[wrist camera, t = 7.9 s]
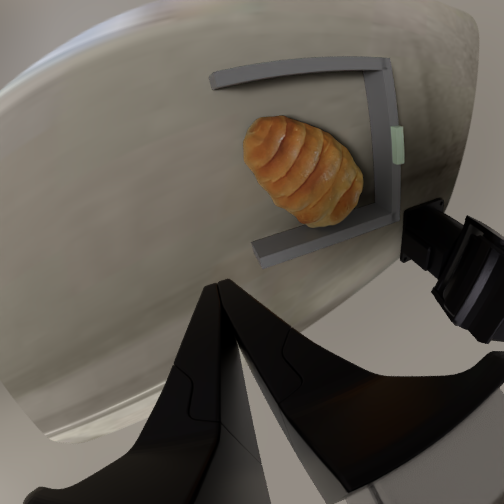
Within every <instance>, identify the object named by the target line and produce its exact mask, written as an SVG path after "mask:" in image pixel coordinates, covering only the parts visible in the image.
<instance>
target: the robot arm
mask: <svg viewBox="0 0 504 504" xmlns="http://www.w3.org/2000/svg"><path fill="white" fill-rule="evenodd" d="M443 206H444V200H443V199H441V198H438V199H435V200H433V201H430V202H427V203H424V204H421V205H419V206H416V207H413V208H410V209H407V210H406V211H405V212H404V219H403V233H402V244H401V254H400V261H401V262H403V263H405V262H407V261H409V260H413V261H414V262H415V263H416V264H418V265H419V266H420V267H421V268H422V269H423V270H425V271H427V270H428V271H429V272H430V273H431V274H432V275H434V276H435V277H436V278H437V279H438V282H437V283H436V286H435V287H433V289H432V291H431V293H432V294H433V295H434V297H435V299H436V300H437V302H438V303H439V304H440V306H441V307H442V309H443V310H444V312H445V313H446V315H447V316H448V317H449V319H450V320H451V322H453V324H454V325H456V326H459V327H461V328H463V329H466V330H468V331H469V332H470V333H471V334H472V335H473V336H474V337H475V338H476V340H477V341H479V342H481V343H485V344H489V342H490V341H491V340H493V341H501V342H504V237H503V236H502V235H500V234H499V233H498V232H496V231H495V230H493V229H491V228H490V227H488V226H487V225H485V224H484V223H482V222H480V221H478V220H476V219H474V218H472V217H470V216H468V215H467V216H466V218H465V223H464V225H462V224H461V223H459V222H458V221H456V220H455V219H453V218H451V217H450V216H448V215H446V214H445V213H443ZM236 340H237V341H236ZM237 343H238V344H237ZM238 345H239V347H240V350H241V352H242V354H243V356H244V358H245V360H246V362H247V364H248V366H249V368H250V370H251V372H252V374H253V376H254V378H255V380H256V382H257V383H258V385H259V387H260V389H261V391H262V393H263V395H264V396H265V399H266V401H267V402H268V404H269V406H270V408H271V410H272V412H273V414H274V415H275V417H276V419H277V421H278V423H279V425H280V426H281V428H282V430H283V431H284V434H285V435H286V437H287V439H288V441H289V442H290V444H291V446H292V448H293V449H294V451H295V452H296V454H297V456H298V458H299V460H300V461H301V463H302V464H303V466H304V468H305V470H306V471H307V473H308V475H309V476H310V478H311V479H312V481H313V483H314V485H315V486H316V488H317V489H318V491H319V492H320V494H321V495H322V497H323V499H324V500H325V502H326V504H334V503H337V502H339V501H342V500H344V499H346V502H347V504H504V394H503V392H502V391H501V390H500V386H501V385H502V384H503V383H504V351H492V352H490V353H488V354H487V355H486V356H485V357H483V358H482V359H481V360H480V361H479V362H478V363H477V364H476V365H475V366H473V367H472V368H471V369H469V370H466V371H464V372H462V373H458V374H455V375H446V376H405V377H404V376H383V375H378V374H375V373H372V372H369V371H367V370H365V369H363V368H361V367H359V366H357V365H355V364H353V363H351V362H349V361H347V360H345V359H343V358H341V357H339V356H337V355H335V354H334V353H332V352H330V351H328V350H326V349H324V348H323V347H321V346H319V345H317V344H316V343H314V342H312V341H311V340H309V339H308V338H307V337H305V336H304V335H302V334H301V333H299V332H298V331H297V330H295V329H294V328H291V326H290V325H289V324H287V323H286V322H285V321H283V320H282V319H281V318H279V317H278V316H277V315H275V314H274V313H273V312H272V311H270V310H269V309H268V308H266V307H265V306H264V305H262V304H261V303H260V302H259V301H257V300H256V299H255V298H253V297H252V296H251V295H250V294H248V293H247V292H246V291H245V290H243V289H242V288H241V287H239V286H238V285H237V284H236V283H234V282H233V281H232V280H231V279H225V280H222V281H219V282H218V283H213V284H210V285H207V286H205V287H204V288H203V291H202V293H201V296H200V298H199V301H198V303H197V305H196V308H195V310H194V313H193V315H192V318H191V320H190V323H189V325H188V328H187V330H186V333H185V335H184V338H183V340H182V343H181V345H180V348H179V350H178V353H177V356H176V358H175V361H174V365H173V366H172V368H171V371H170V373H169V376H168V378H167V381H166V383H165V386H164V388H163V390H162V392H161V394H160V396H159V398H158V400H157V403H156V405H155V406H154V408H153V410H152V412H151V414H150V416H149V418H148V420H147V422H146V424H145V426H144V428H143V430H142V432H141V434H140V436H139V437H138V439H137V441H136V442H135V444H134V445H133V447H132V448H131V449H130V450H129V451H128V452H127V453H126V454H125V455H123V456H122V457H121V458H119V459H118V460H116V461H114V462H113V463H111V464H109V465H108V466H106V467H105V468H103V469H101V470H100V471H98V472H96V473H95V474H93V475H91V476H90V477H88V478H86V479H84V480H82V481H81V482H79V483H77V484H75V485H73V486H71V487H68V488H64V489H51V488H46V487H38V488H36V489H35V490H34V491H32V492H31V493H29V494H28V496H27V497H26V498H25V500H24V502H23V504H271V502H270V497H269V493H268V489H267V485H266V480H265V476H264V472H263V467H262V465H261V464H262V463H261V458H260V454H259V449H258V445H257V440H256V435H255V430H254V426H253V421H252V416H251V411H250V406H249V401H248V396H247V391H246V386H245V380H244V376H243V370H242V364H241V359H240V354H239V349H238Z"/></svg>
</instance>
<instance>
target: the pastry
mask: <svg viewBox="0 0 504 504" xmlns="http://www.w3.org/2000/svg"><path fill="white" fill-rule="evenodd" d="M243 149H244V162H245V163H246V164H247V166H248V167H249V168H250V169H251V170H252V172H253V173H254V175H255V177H256V179H257V181H258V183H259V184H260V185H261V186H262V188H263V189H265V190H266V191H267V192H268V193H269V195H270V196H271V198H272V200H273V202H274V204H275V205H276V206H278V207H281V208H284V209H286V210H287V211H288V212H290V213H291V214H293V215H294V216H295V217H296V218H297V219H298V221H299V222H301V223H303V224H306V225H307V226H308V227H310V228H317V227H326V226H328V225H336V224H338V223H340V222H341V221H342V220H343V219H344V218H345V217H347V216H348V215H349V213H350V212H351V211H352V210H353V209H354V208H355V206H356V205H357V203H358V200H359V195H360V194H361V192H362V189H363V174H362V173H361V171H360V169H359V167H358V166H357V165H356V164H355V162H354V161H353V157H352V156H351V154H350V153H349V151H348V150H347V148H346V147H344V146H343V145H342V144H340V143H339V142H338V141H336V140H335V139H334V138H333V137H332V136H331V135H330V134H329V133H327V132H324V131H322V130H321V129H319V128H316V127H313V126H310V125H308V124H306V123H302V122H299V121H297V120H294V119H291V118H287V117H286V116H283V115H282V116H275V117H261V118H258V119H256V120H255V121H254V122H253V124H252V125H251V126H250V127H249V129H248V130H247V133H246V136H245V139H244V141H243Z"/></svg>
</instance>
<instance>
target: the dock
mask: <svg viewBox="0 0 504 504" xmlns="http://www.w3.org/2000/svg"><path fill="white" fill-rule="evenodd" d="M338 71H363V75H364V81H365V87H366V93H367V100H368V108H369V116H370V125H371V135H372V146H373V160H374V181H375V203H373V204H370V205H366V206H363V207H360V208H357V209H354V210H352V211H351V212H350V213H349V215H348V216H347V217H345V218H344V219H343V220H342V221H341V222H340V223H338V224H336V225H328V226H326V227H317V228H310V227H308V226H307V225H303V226H300V227H297V228H294V229H291V230H288V231H285V232H281V233H278V234H275V235H272V236H269V237H266V238H263V239H260V240H257V241H254V242H251V243H252V247H253V251H254V254H255V256H256V258H257V260H258V261H259V263H260V265H261V267H262V269H264V268H267V267H270V266H273V265H276V264H279V263H282V262H285V261H288V260H290V259H293V258H296V257H299V256H302V255H305V254H308V253H311V252H314V251H316V250H319V249H322V248H325V247H328V246H331V245H333V244H336V243H339V242H342V241H345V240H347V239H350V238H353V237H356V236H359V235H361V234H364V233H367V232H370V231H372V230H375V229H378V228H381V227H383V226H386V225H389V224H392V223H394V222H397V221H399V220H400V195H401V164H404V163H405V162H404V135H403V127H402V126H399V123H398V112H397V102H396V94H395V86H394V80H393V73H392V67H391V61H390V58H382V57H357V56H337V57H312V58H299V59H288V60H279V61H271V62H264V63H258V64H251V65H246V66H240V67H235V68H230V69H225V70H220V71H216V72H213V73H212V74H211V75H210V76H209V80H210V84H211V88H212V90H216V89H220V88H224V87H228V86H233V85H237V84H242V83H247V82H253V81H258V80H264V79H270V78H277V77H284V76H291V75H300V74H310V73H321V72H338Z"/></svg>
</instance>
